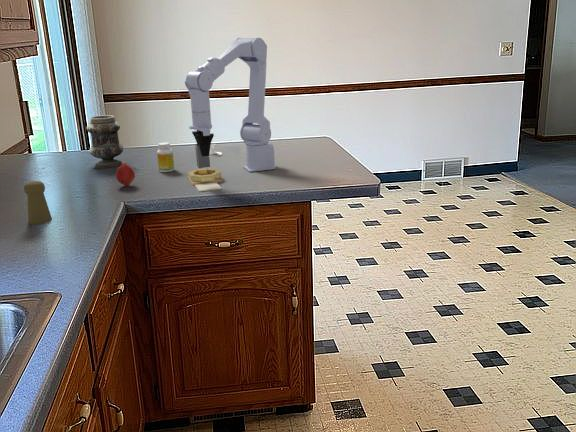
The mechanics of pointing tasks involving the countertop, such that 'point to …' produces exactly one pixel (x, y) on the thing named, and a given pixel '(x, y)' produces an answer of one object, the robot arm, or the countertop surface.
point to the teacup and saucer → (213, 150)
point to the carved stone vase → (105, 140)
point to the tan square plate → (205, 182)
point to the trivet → (207, 187)
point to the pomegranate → (125, 174)
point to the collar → (204, 175)
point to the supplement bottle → (165, 157)
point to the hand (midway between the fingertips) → (204, 154)
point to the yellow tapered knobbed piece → (37, 203)
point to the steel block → (201, 158)
